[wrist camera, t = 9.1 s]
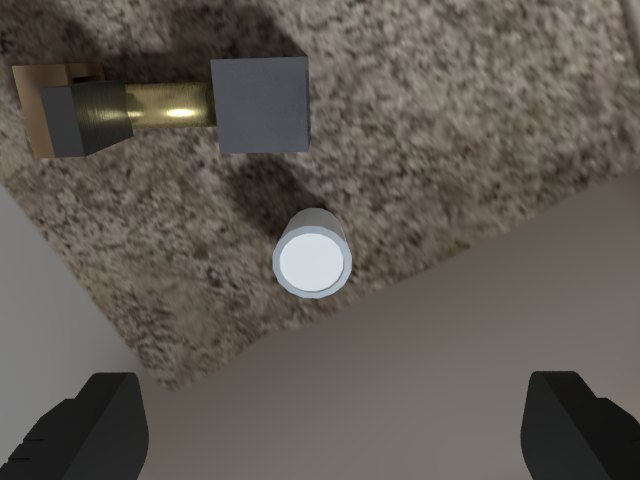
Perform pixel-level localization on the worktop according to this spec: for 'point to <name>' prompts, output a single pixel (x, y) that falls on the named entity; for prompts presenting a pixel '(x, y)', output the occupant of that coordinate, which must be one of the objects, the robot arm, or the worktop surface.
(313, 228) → the shot glass
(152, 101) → the slide bolt
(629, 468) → the robot arm
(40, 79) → the socket block
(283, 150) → the block
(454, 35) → the worktop surface
